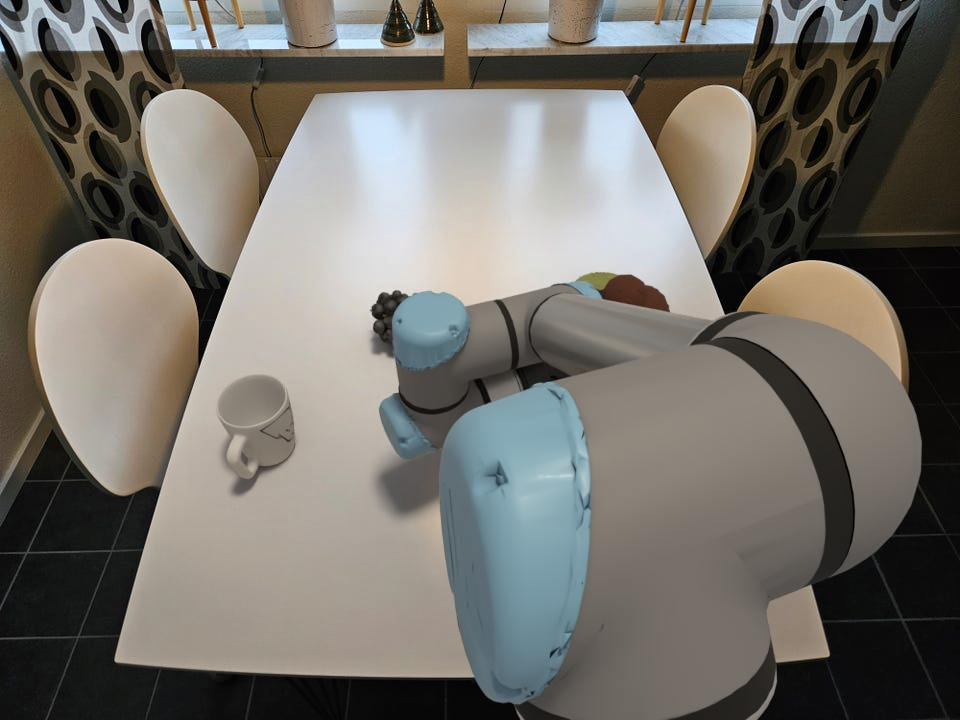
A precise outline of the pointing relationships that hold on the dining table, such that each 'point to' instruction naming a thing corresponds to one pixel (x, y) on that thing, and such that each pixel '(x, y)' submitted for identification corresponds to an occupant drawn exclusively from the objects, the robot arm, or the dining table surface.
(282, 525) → the dining table surface
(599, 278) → the mat
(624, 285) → the ice cream bowl
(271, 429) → the mug
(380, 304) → the fruit
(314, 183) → the dining table surface
